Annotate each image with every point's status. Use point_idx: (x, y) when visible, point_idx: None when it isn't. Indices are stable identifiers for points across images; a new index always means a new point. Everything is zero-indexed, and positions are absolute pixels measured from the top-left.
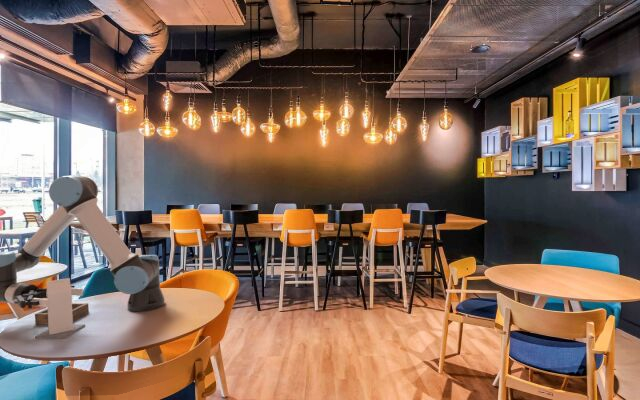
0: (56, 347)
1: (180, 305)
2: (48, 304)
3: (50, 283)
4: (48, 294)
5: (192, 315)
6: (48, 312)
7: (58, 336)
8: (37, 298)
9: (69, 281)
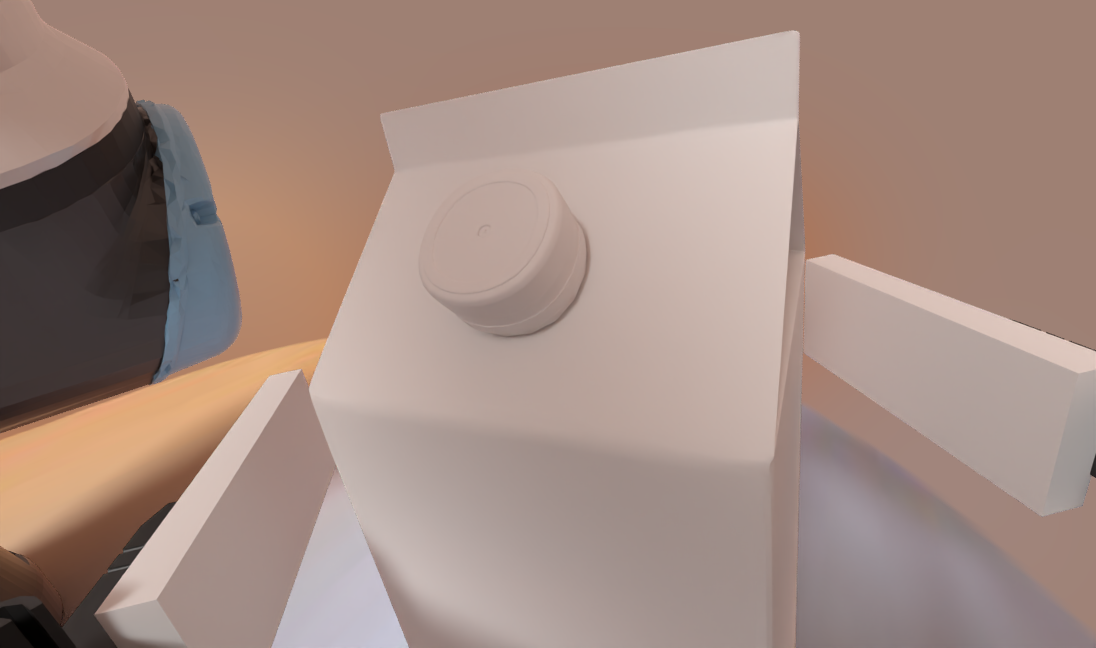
0: None
1: (16, 513)
2: (805, 327)
3: (710, 121)
4: (790, 254)
5: (240, 388)
6: (798, 500)
7: None
8: (984, 325)
9: (414, 177)
